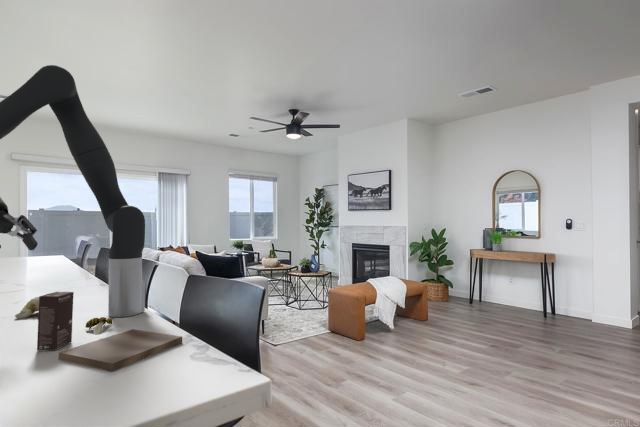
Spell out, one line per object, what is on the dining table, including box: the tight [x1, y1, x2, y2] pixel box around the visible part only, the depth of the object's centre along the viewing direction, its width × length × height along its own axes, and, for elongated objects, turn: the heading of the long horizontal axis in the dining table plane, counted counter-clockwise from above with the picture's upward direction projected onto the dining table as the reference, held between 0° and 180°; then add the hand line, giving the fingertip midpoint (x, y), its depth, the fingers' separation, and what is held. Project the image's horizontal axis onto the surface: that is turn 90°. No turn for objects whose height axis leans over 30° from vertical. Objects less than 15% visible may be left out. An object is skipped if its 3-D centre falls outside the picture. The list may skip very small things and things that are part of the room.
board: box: [57, 328, 183, 372], centre depth 83 cm, size 18×16×2 cm
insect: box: [84, 316, 117, 336], centre depth 100 cm, size 11×6×5 cm, turn 17°
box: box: [36, 291, 75, 352], centre depth 86 cm, size 6×4×12 cm
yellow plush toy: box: [14, 295, 41, 320], centre depth 118 cm, size 10×6×15 cm
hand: (16, 249), depth 89 cm, fingers open, 8 cm apart
